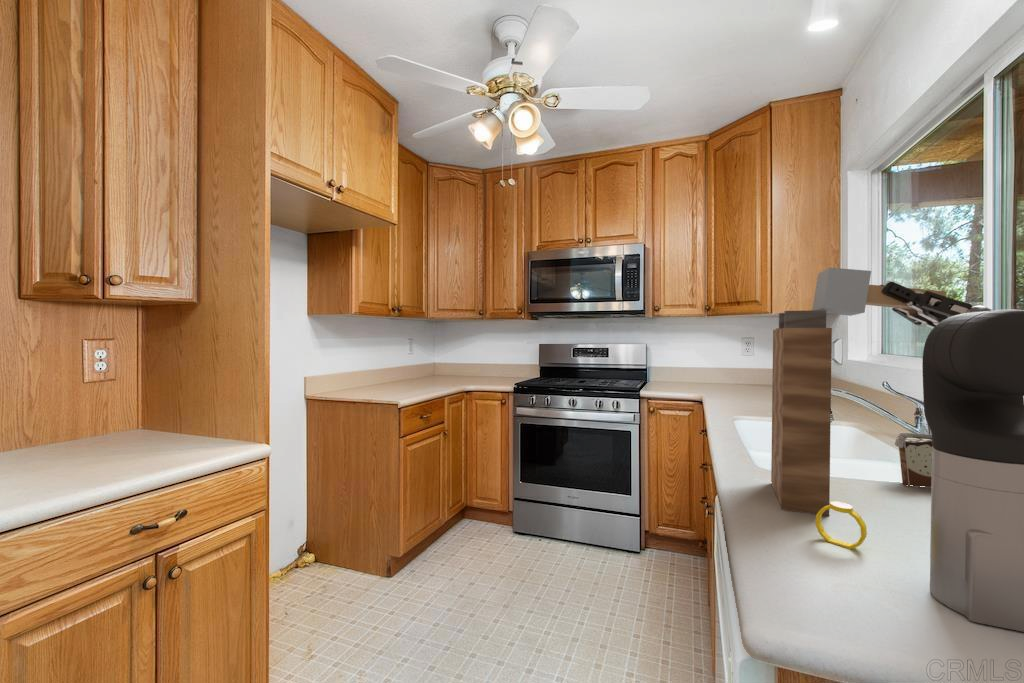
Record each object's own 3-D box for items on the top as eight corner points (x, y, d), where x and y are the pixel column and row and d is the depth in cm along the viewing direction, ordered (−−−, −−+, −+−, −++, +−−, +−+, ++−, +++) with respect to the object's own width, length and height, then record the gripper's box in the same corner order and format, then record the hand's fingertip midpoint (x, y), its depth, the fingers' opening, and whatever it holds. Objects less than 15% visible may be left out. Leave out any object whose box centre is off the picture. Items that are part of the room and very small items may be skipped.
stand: (829, 516, 77) (832, 310, 77) (781, 509, 80) (784, 310, 79) (810, 488, 91) (813, 314, 91) (771, 483, 94) (773, 315, 94)
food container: (940, 479, 98) (941, 433, 98) (966, 489, 91) (967, 440, 91) (879, 477, 99) (880, 432, 99) (900, 486, 93) (901, 438, 93)
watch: (866, 550, 65) (870, 510, 64) (860, 556, 63) (865, 515, 63) (818, 533, 70) (822, 495, 69) (811, 538, 68) (815, 499, 67)
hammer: (946, 321, 72) (954, 277, 71) (822, 308, 77) (829, 267, 77) (926, 324, 77) (932, 283, 77) (811, 311, 83) (818, 273, 83)
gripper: (1010, 359, 66) (886, 302, 71) (952, 358, 79) (851, 311, 84) (1044, 314, 65) (915, 260, 70) (979, 321, 78) (875, 275, 83)
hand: (880, 288), depth 77 cm, fingers closed on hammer, 3 cm apart
